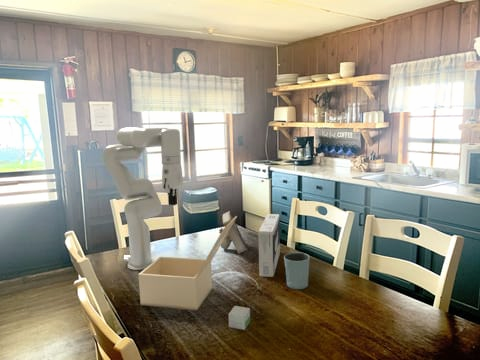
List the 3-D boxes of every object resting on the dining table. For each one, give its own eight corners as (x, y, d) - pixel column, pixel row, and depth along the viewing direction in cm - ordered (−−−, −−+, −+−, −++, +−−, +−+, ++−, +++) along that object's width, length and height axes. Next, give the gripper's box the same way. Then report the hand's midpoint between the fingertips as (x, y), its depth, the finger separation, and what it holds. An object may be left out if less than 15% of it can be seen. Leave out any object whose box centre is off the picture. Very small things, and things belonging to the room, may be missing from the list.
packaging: (273, 277, 157) (272, 231, 154) (259, 276, 158) (258, 231, 155) (280, 252, 186) (279, 214, 183) (268, 252, 188) (267, 213, 185)
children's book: (225, 250, 203) (208, 219, 200) (245, 240, 203) (229, 209, 200) (227, 263, 183) (209, 228, 180) (249, 251, 184) (232, 217, 180)
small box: (244, 330, 117) (244, 316, 117) (228, 327, 119) (227, 313, 119) (250, 321, 123) (250, 307, 122) (234, 318, 125) (234, 305, 124)
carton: (140, 305, 136) (138, 274, 134) (161, 284, 153) (160, 256, 151) (197, 310, 131) (195, 278, 129) (212, 288, 148) (211, 259, 146)
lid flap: (223, 229, 123) (224, 229, 123) (236, 215, 141) (237, 216, 141) (195, 277, 129) (196, 278, 129) (211, 259, 146) (212, 259, 146)
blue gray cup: (314, 283, 149) (314, 255, 147) (300, 292, 142) (300, 263, 140) (293, 277, 156) (293, 250, 154) (279, 285, 149) (278, 257, 147)
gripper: (171, 162, 139) (173, 209, 142) (187, 158, 153) (188, 201, 157) (153, 162, 141) (155, 208, 144) (170, 157, 155) (172, 200, 159)
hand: (172, 204), depth 150 cm, fingers closed
